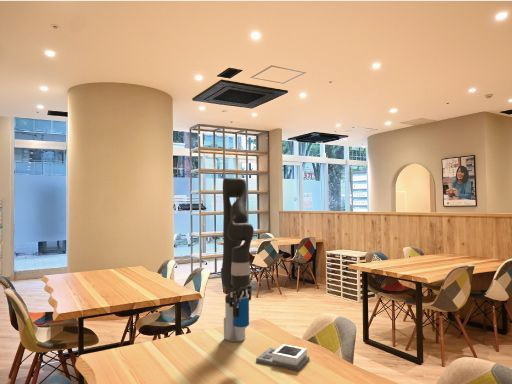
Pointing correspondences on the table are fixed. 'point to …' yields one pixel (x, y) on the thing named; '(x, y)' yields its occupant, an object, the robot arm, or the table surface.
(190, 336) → the table surface
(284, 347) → the grey and white device
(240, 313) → the beverage can
